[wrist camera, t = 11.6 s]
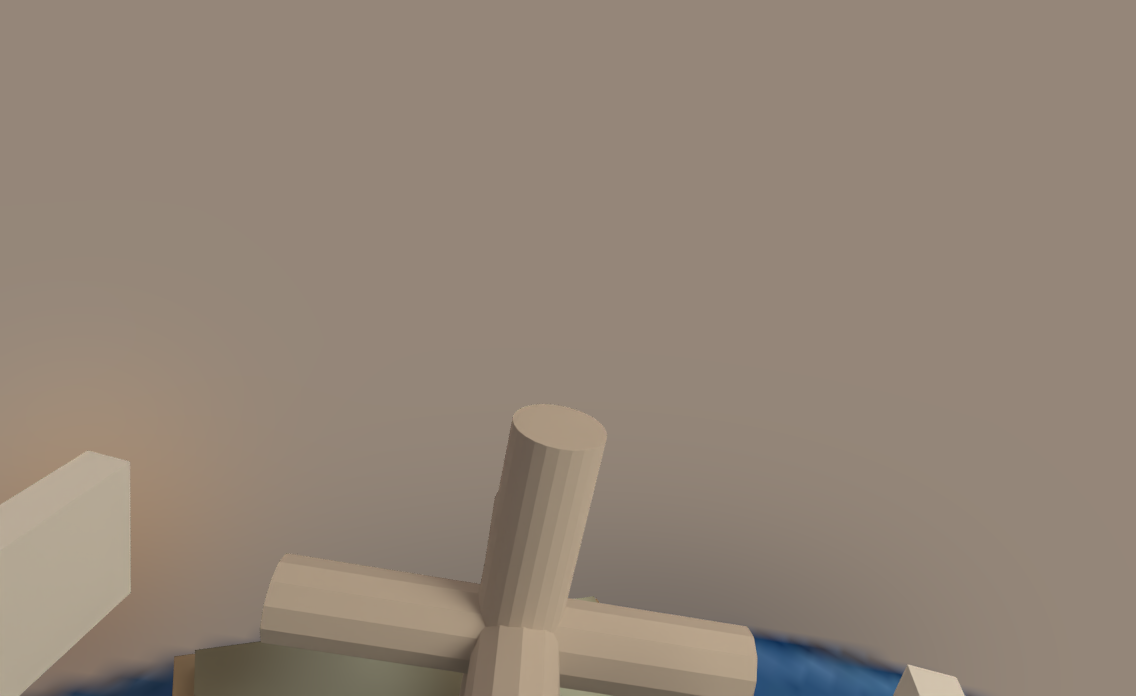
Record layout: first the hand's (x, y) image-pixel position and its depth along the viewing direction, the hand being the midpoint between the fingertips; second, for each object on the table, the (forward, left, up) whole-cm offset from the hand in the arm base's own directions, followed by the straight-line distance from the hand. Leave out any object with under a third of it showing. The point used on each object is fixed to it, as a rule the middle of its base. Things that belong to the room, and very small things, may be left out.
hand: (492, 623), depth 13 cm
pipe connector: (-2, -2, -8) cm, 8 cm away
